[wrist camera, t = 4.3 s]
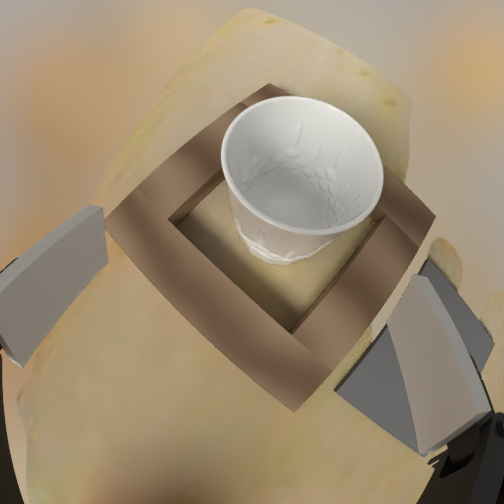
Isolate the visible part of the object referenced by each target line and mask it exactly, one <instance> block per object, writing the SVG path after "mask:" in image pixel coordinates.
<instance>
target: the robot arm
mask: <svg viewBox="0 0 504 504" xmlns="http://www.w3.org/2000/svg"><path fill="white" fill-rule="evenodd" d="M107 263H108V255H107V247H106V238H105V227H104V215H103V207H100V206H95V205H90V204H89V205H88V206H86V207H85V208H84V209H82V210H81V211H79V212H78V213H76V214H75V215H73V216H72V217H70V218H69V219H68V220H66V221H65V222H64V223H62V224H61V225H59V226H58V227H56V228H55V229H54V230H52V231H51V232H50V233H49V234H47V235H46V236H45V237H43V238H42V239H41V240H39V241H38V242H37V243H36V244H35V245H33V246H32V247H31V248H29V249H28V250H27V251H26V252H25V253H23V254H22V255H21V256H20V257H18V258H16V259H15V260H13V261H12V262H11V263H10V264H9V265H7V266H6V267H5V270H4V269H3V270H2V271H1V272H0V350H1V349H2V348H3V350H4V351H5V353H6V354H7V356H8V357H9V359H10V360H12V361H13V362H15V363H16V364H17V365H19V366H20V367H21V368H23V367H24V366H25V364H26V363H27V361H28V360H29V358H30V357H31V355H32V354H33V352H34V351H35V350H36V348H37V347H38V346H39V344H40V343H41V342H42V340H43V339H44V338H45V336H46V335H47V334H48V332H49V331H50V330H51V328H52V327H53V326H54V325H55V323H56V322H57V321H58V319H59V318H60V317H61V316H62V315H63V313H64V312H65V311H66V310H67V308H68V307H69V306H70V305H71V304H72V302H73V301H74V300H75V299H76V298H77V296H78V295H79V294H80V293H81V292H82V291H83V289H84V288H85V287H86V286H87V285H88V284H89V283H90V281H91V280H92V279H93V278H94V277H95V276H96V275H97V274H98V273H99V271H100V270H101V269H102V268H103V267H104V266H105V265H106V264H107ZM387 325H388V328H389V331H390V335H391V338H392V341H393V344H394V347H395V351H396V354H397V358H398V361H399V365H400V368H401V372H402V375H403V379H404V383H405V387H406V391H407V395H408V399H409V404H410V408H411V413H412V417H413V422H414V427H415V432H416V438H417V444H418V450H419V455H420V454H425V453H430V452H434V451H436V450H438V449H439V448H441V447H443V446H444V445H446V444H447V447H448V449H447V450H445V451H444V452H442V453H440V454H439V455H437V456H435V457H434V458H432V459H430V461H429V462H428V463H427V464H428V465H430V464H432V463H434V462H435V461H437V460H439V461H438V462H437V463H436V464H434V465H433V466H432V467H433V468H435V470H434V472H433V474H432V476H431V478H430V480H429V482H428V484H427V486H426V488H425V490H424V491H423V493H422V495H421V497H420V499H419V500H418V502H417V504H504V413H501V412H499V413H496V414H495V411H494V409H493V406H492V403H491V400H490V398H489V395H488V392H487V390H486V387H485V384H484V382H483V380H481V378H482V377H481V375H480V372H479V371H478V368H477V365H476V363H475V361H474V359H473V357H472V356H471V354H470V353H469V352H468V351H467V349H466V347H465V345H464V342H463V340H462V338H461V336H460V334H459V332H458V330H457V329H456V327H455V325H454V323H453V321H452V319H451V317H450V315H449V313H448V312H447V310H446V308H445V306H444V305H443V303H442V301H441V299H440V298H439V296H438V294H437V293H436V291H435V289H434V288H433V286H432V284H431V283H430V281H429V279H428V278H427V277H424V276H420V275H416V274H414V275H413V277H412V279H411V280H410V282H409V284H408V286H407V288H406V290H405V291H404V293H403V295H402V297H401V298H400V300H399V302H398V304H397V305H396V307H395V309H394V310H393V312H392V314H391V315H390V317H389V319H388V320H387ZM0 504H24V502H23V499H22V496H21V493H20V489H19V486H18V483H17V479H16V476H15V472H14V468H13V463H12V459H11V455H10V449H9V444H8V439H7V432H6V424H5V415H4V405H3V389H2V356H1V354H0Z"/></svg>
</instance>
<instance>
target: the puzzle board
mask: <svg viewBox="0 0 504 504" xmlns="http://www.w3.org/2000/svg"><path fill="white" fill-rule="evenodd" d="M281 96H290V95H289V94H287V93H285V92H284V91H282V90H280V89H279V88H277V87H275V86H274V85H272V84H270V83H269V84H267V85H265V86H264V87H262V88H261V89H259V90H258V91H256V92H255V93H253V94H252V95H250V96H249V97H247V98H246V99H244V100H243V101H241V102H240V103H238V104H237V105H236V106H234V107H233V108H231V109H230V110H228V111H227V112H226V113H224V114H223V115H222V116H220V117H219V118H218V119H216V120H215V121H214V122H212V123H211V124H210V125H208V126H207V127H206V128H204V129H203V130H202V131H201V132H199V133H198V134H197V135H195V136H194V137H193V138H192V139H190V140H189V141H188V142H187V143H186V144H184V145H183V146H182V147H181V148H180V149H178V150H177V151H176V152H175V153H174V154H172V155H171V156H170V157H169V158H168V159H167V160H166V161H164V162H163V163H162V164H161V165H160V166H159V167H158V168H157V169H155V170H154V171H153V172H152V173H151V174H150V175H149V176H148V177H147V178H146V179H145V180H144V181H143V182H141V183H140V184H139V185H138V186H137V187H136V188H135V189H134V190H133V191H132V192H131V193H130V194H129V195H128V196H127V197H126V198H125V199H124V200H123V201H122V202H121V203H120V204H119V205H118V206H117V207H116V208H115V209H114V210H113V211H112V212H111V213H110V215H109V216H108V217H107V218H106V219H105V220H104V227H105V230H106V231H107V232H108V233H109V234H110V236H111V237H112V238H113V239H114V241H115V242H116V243H117V244H118V245H119V247H120V248H121V249H122V250H123V251H124V253H125V254H126V255H127V256H128V257H129V258H130V260H131V261H132V262H133V263H134V264H135V265H136V266H137V267H138V269H139V270H140V271H141V272H142V273H143V274H144V275H145V276H146V278H147V279H148V280H149V281H150V282H151V283H152V284H153V285H154V286H155V287H156V288H157V289H158V291H159V292H160V293H161V294H162V295H163V296H164V297H165V298H166V299H167V300H168V301H169V302H170V303H171V304H172V305H173V306H174V307H175V308H176V309H177V310H178V311H179V312H180V313H181V314H182V315H183V316H184V317H185V318H186V319H187V320H188V321H189V322H190V323H191V324H192V325H193V326H194V327H195V328H196V329H197V330H198V331H199V332H200V333H201V334H202V335H203V336H204V337H205V338H206V339H207V340H208V341H209V342H211V343H212V344H213V345H214V346H215V347H216V348H217V349H218V350H219V351H220V352H221V353H223V354H224V355H225V356H226V357H227V358H228V359H229V360H230V361H231V362H233V363H234V364H235V365H236V366H237V367H238V368H239V369H241V370H242V371H243V372H244V373H245V374H246V375H248V376H249V377H250V378H251V379H252V380H254V381H255V382H256V383H257V384H258V385H260V386H261V387H262V388H263V389H264V390H266V391H267V392H268V393H269V394H271V395H272V396H273V397H274V398H276V399H277V400H278V401H279V402H281V403H282V404H283V405H285V406H286V407H287V408H289V409H290V410H291V411H292V412H295V411H296V410H297V409H298V408H299V407H300V406H301V405H302V404H303V403H304V402H305V401H306V400H307V399H308V398H309V397H310V396H311V395H312V394H313V393H314V391H315V390H316V389H317V388H318V387H319V386H320V385H321V384H322V383H323V382H324V380H325V379H326V378H327V377H328V376H329V375H330V374H331V373H332V371H333V370H334V369H335V368H336V367H337V365H338V364H339V363H340V362H341V361H342V360H343V358H344V357H345V356H346V355H347V353H348V352H349V351H350V350H351V348H352V347H353V346H354V345H355V343H356V342H357V341H358V340H359V338H360V337H361V336H362V334H363V333H364V332H365V330H366V329H367V328H368V326H369V325H370V324H371V322H372V321H373V319H374V318H375V317H376V315H377V314H378V312H379V311H380V310H381V308H382V307H383V305H384V304H385V302H386V301H387V299H388V298H389V296H390V295H391V293H392V292H393V290H394V289H395V287H396V285H397V284H398V282H399V281H400V279H401V278H402V276H403V274H404V273H405V271H406V270H407V268H408V266H409V265H410V263H411V261H412V260H413V258H414V256H415V254H416V253H417V251H418V249H419V247H420V246H421V244H422V242H423V240H424V238H425V237H426V235H427V233H428V231H429V229H430V227H431V225H432V223H433V221H434V219H435V217H436V216H435V215H434V214H433V213H432V212H431V211H430V210H429V209H428V208H427V207H426V205H425V204H424V203H423V202H422V201H421V200H420V199H419V198H418V197H417V196H416V195H415V194H414V193H413V192H412V191H411V190H410V189H409V188H408V187H407V186H406V185H405V184H404V183H403V182H402V181H400V180H399V179H398V178H397V177H396V176H395V175H394V174H393V173H392V172H391V171H390V170H389V169H387V168H386V167H385V166H384V165H383V164H382V165H383V173H384V180H383V188H382V192H381V195H380V198H379V200H378V202H377V204H376V206H375V208H374V209H373V210H372V212H371V213H370V214H369V215H368V216H369V217H370V218H371V219H372V220H373V221H374V222H376V224H375V225H374V226H373V228H372V229H371V231H370V232H369V233H368V235H367V236H366V237H365V239H364V240H363V242H362V243H361V244H360V246H359V247H358V248H357V250H356V251H355V252H354V253H353V255H352V256H351V257H350V259H349V260H348V261H347V263H346V264H345V265H344V266H343V268H342V269H341V270H340V272H339V273H338V274H337V275H336V277H335V278H334V279H333V280H332V282H331V283H330V284H329V285H328V286H327V288H326V289H325V290H324V291H323V293H322V294H321V295H320V296H319V297H318V299H317V300H316V301H315V302H314V303H313V305H312V306H311V307H310V308H309V309H308V310H307V312H306V313H305V314H304V315H303V316H302V317H301V319H300V320H299V321H298V322H297V323H296V324H295V325H294V326H293V328H292V329H291V330H290V331H289V332H287V331H286V330H285V329H284V328H283V327H282V326H281V325H279V324H278V323H277V322H276V321H275V320H274V319H273V318H272V317H271V316H269V315H268V314H267V313H266V312H265V311H264V310H263V309H262V308H261V307H259V306H258V305H257V304H256V303H255V302H254V301H253V300H252V299H251V298H250V297H248V296H247V295H246V294H245V293H244V292H243V291H242V290H241V289H240V288H239V287H238V286H236V285H235V284H234V283H233V282H232V281H231V280H230V279H229V278H228V277H227V276H226V275H225V274H224V273H223V272H221V271H220V270H219V269H218V268H217V267H216V266H215V265H214V264H213V263H212V262H211V261H210V260H209V259H208V258H207V257H206V256H205V255H204V254H202V253H201V252H200V251H199V250H198V249H197V248H196V247H195V246H194V245H193V244H192V243H191V242H190V241H189V240H188V239H187V238H186V237H185V236H184V235H183V234H182V233H181V232H180V231H179V230H178V229H177V228H176V227H175V226H176V225H177V224H178V223H179V222H180V221H181V220H182V219H183V218H184V217H185V216H186V215H187V214H188V213H189V212H190V211H191V210H192V209H193V208H194V207H195V206H196V205H197V204H198V203H199V202H200V201H201V200H202V199H203V198H204V197H205V196H207V195H208V194H209V193H210V192H211V191H212V190H213V189H214V188H215V187H216V186H217V185H218V184H219V183H221V182H222V181H223V180H224V179H225V177H224V173H223V169H222V163H221V148H222V142H223V139H224V136H225V133H226V131H227V129H228V128H229V126H230V124H231V123H232V122H233V120H234V119H235V118H236V117H237V116H238V115H239V114H240V113H241V112H243V111H244V110H245V109H247V108H248V107H250V106H252V105H254V104H256V103H258V102H260V101H263V100H266V99H270V98H274V97H281Z"/></svg>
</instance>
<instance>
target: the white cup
mask: <svg viewBox="0 0 504 504" xmlns="http://www.w3.org/2000/svg"><path fill="white" fill-rule="evenodd" d="M221 163H222V169H223V173H224V177H225V182H226V187H227V192H228V197H229V201H230V206H231V209H232V213H233V216H234V220H235V223H236V226H237V228H238V231H239V236H240V238H241V240H242V241H243V243H244V244H245V246H246V247H247V249H248V250H249V252H250V253H251V254H253V255H254V256H256V257H258V258H259V259H261V260H263V261H264V262H266V263H268V264H278V265H290V264H293V263H296V262H298V261H301V260H304V259H306V258H307V257H309V256H311V255H313V254H315V253H317V252H318V251H320V250H321V249H323V248H325V247H326V246H328V245H329V244H331V243H332V242H333V241H335V240H336V239H337V238H339V237H340V236H342V235H343V234H344V233H346V232H347V231H349V230H350V229H351V228H353V227H354V226H356V225H357V224H358V223H360V222H361V221H363V220H364V219H365V218H366V217H367V216H368V215H369V214H370V213H371V212H372V210H373V209H374V208H375V206H376V204H377V202H378V200H379V198H380V195H381V192H382V188H383V180H384V173H383V165H382V161H381V157H380V154H379V152H378V149H377V147H376V145H375V143H374V142H373V140H372V139H371V137H370V136H369V134H368V133H367V132H366V130H365V129H364V128H363V127H362V126H361V125H360V124H359V123H358V122H357V121H356V120H355V119H353V118H352V117H351V116H350V115H348V114H347V113H345V112H344V111H342V110H340V109H339V108H337V107H335V106H333V105H331V104H328V103H326V102H323V101H320V100H317V99H313V98H308V97H301V96H281V97H274V98H270V99H266V100H263V101H260V102H258V103H256V104H254V105H252V106H250V107H248V108H247V109H245V110H244V111H243V112H241V113H240V114H239V115H238V116H237V117H236V118H235V119H234V120H233V122H232V123H231V124H230V126H229V128H228V129H227V131H226V133H225V136H224V139H223V142H222V148H221Z"/></svg>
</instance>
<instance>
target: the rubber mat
mask: <svg viewBox="0 0 504 504" xmlns="http://www.w3.org/2000/svg"><path fill="white" fill-rule="evenodd" d="M417 275H420V276H424V277H427V278H428V279H429V281H430V283H431V284H432V286H433V288H434V289H435V291H436V293H437V294H438V296H439V298H440V299H441V301H442V303H443V305H444V306H445V308H446V310H447V312H448V313H449V315H450V317H451V319H452V321H453V323H454V325H455V327H456V329H457V330H458V332H459V334H460V336H461V338H462V340H463V342H464V345H465V347H466V349H467V351H468V352H469V353H470V354H471V356H472V357H473V359H474V361H475V363H476V365H477V368H478V371H479V372H480V374H481V372H482V370H483V368H484V366H485V364H486V362H487V360H488V357H489V355H490V353H491V351H492V349H493V346H494V342H493V341H492V339H491V338H490V336H489V335H488V333H487V332H486V330H485V329H484V328H483V326H482V325H481V323H480V322H479V320H478V319H477V318H476V316H475V315H474V314H473V312H472V311H471V309H470V308H469V307H468V306H467V304H466V303H465V302H464V300H463V299H462V298H461V297H460V295H459V294H458V293H457V291H456V290H455V289H454V288H453V286H452V285H451V284H450V283H449V282H448V280H447V279H446V278H445V277H444V276H443V274H442V273H441V272H440V271H439V270H438V269H437V267H436V266H435V265H434V264H433V263H432V262H431V261H430V260H429V259H428V260H425V262H424V264H423V265H422V267H421V269H420V271H419V273H418V274H417ZM334 391H335V392H336V393H338V394H339V395H340V396H341V397H343V398H344V399H345V400H346V401H348V402H349V403H350V404H352V405H353V406H354V407H355V408H357V409H358V410H359V411H361V412H362V413H363V414H365V415H366V416H367V417H368V418H370V419H371V420H372V421H374V422H375V423H376V424H378V425H379V426H380V427H382V428H383V429H385V430H386V431H387V432H389V433H390V434H391V435H393V436H394V437H395V438H397V439H398V440H400V441H401V442H402V443H404V444H405V445H407V446H408V447H410V448H411V449H412V450H414V451H415V452H417V453H418V454H419V450H418V444H417V438H416V432H415V427H414V422H413V417H412V413H411V408H410V404H409V399H408V395H407V391H406V387H405V383H404V379H403V375H402V372H401V368H400V365H399V361H398V358H397V354H396V351H395V347H394V344H393V341H392V338H391V335H390V331H389V328H388V325H387V323H386V325H385V326H384V328H383V329H382V330H381V332H380V333H379V335H378V336H377V337H376V339H375V340H374V341H373V343H372V344H371V345H370V347H369V348H368V349H367V351H366V352H365V353H364V355H363V356H362V357H361V358H360V360H359V361H358V362H357V363H356V365H355V366H354V367H353V368H352V370H351V371H350V372H349V373H348V374H347V376H346V377H345V378H344V379H343V380H342V381H341V383H340V384H339V385H338V386H337V387H336V388H335V389H334ZM427 454H428V453H425V454H420V455H421V456H423V457H425V456H426V455H427Z"/></svg>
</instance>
